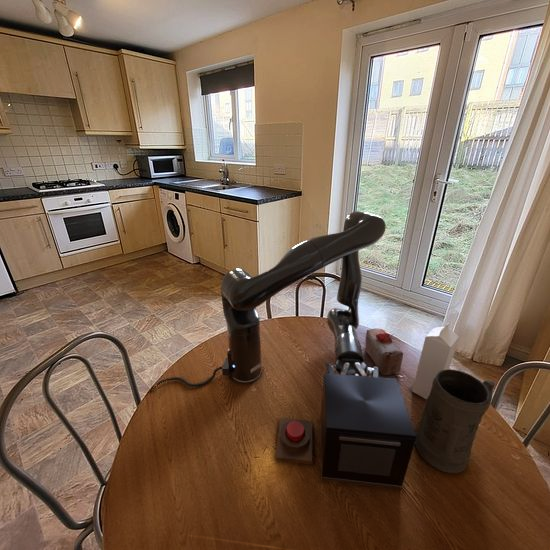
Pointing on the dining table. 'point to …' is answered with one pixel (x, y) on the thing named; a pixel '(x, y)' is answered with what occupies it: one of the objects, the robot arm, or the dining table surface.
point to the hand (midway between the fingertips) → (356, 398)
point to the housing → (294, 444)
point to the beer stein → (452, 419)
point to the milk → (434, 358)
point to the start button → (295, 431)
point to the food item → (383, 351)
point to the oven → (364, 431)
